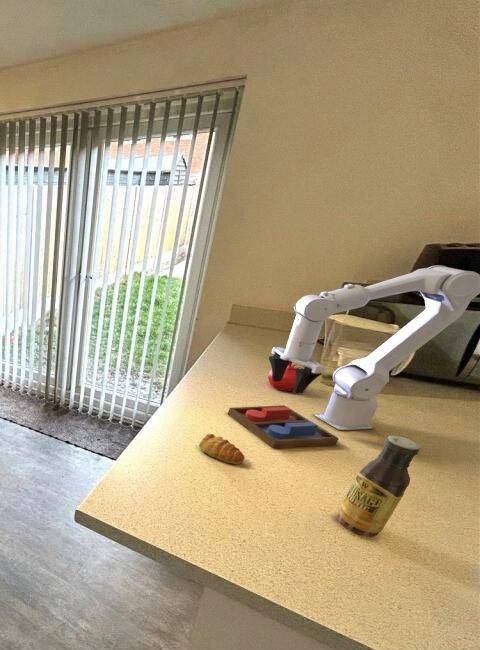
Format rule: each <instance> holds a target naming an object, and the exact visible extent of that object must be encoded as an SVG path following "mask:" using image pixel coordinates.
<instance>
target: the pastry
mask: <svg viewBox="0 0 480 650" xmlns="http://www.w3.org/2000/svg"><path fill="white" fill-rule="evenodd" d="M198 447H199V448H200V450H201V451H202V452H203V453H206V454H207V455H208V456H209V457H212V458H215V459H217V460H219V461H222V462H224V463H229V464H233V465H234V464H235V465H239V464H241V463H242V462H243V461H244V460H245V458H246V457H245V455H244V454H243V452H242V451H240V448H238V447H237V446H236V445H235V444H233V443H231V442H230V441H229V440H228V439H227V438H226V439H224V437H222V436H221V435H217V436H216V435H215V434H213V433H208V434H205V436H204V437H202V439H201V440H200V441H199V443H198Z"/></svg>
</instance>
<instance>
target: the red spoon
mask: <svg viewBox="0 0 480 650" xmlns="http://www.w3.org/2000/svg"><path fill="white" fill-rule="evenodd" d="M292 410H293V409H292V408H290V407H289V406H286V407H269V408H262V411H258V410H247V413H246V416H245V417H246V418H247V419H248V420H250V421H252V422H264V420H275V419H289V417H290V414H291V411H292Z"/></svg>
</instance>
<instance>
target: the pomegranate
mask: <svg viewBox="0 0 480 650" xmlns="http://www.w3.org/2000/svg"><path fill="white" fill-rule="evenodd" d="M295 366H296V364H294V363H293V362H290V364H289V365H288V367H287V369H286V371H285V373H284V376H283V378H282V380H281V381H272V369H271V370H270V371H269V372H268V375H267V379H268V382H269V385H271V386H272V388H274V389H276V390H279V391H288V392H294V387H295V383H296V369H304V367H301V366H298V367H295Z"/></svg>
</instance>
